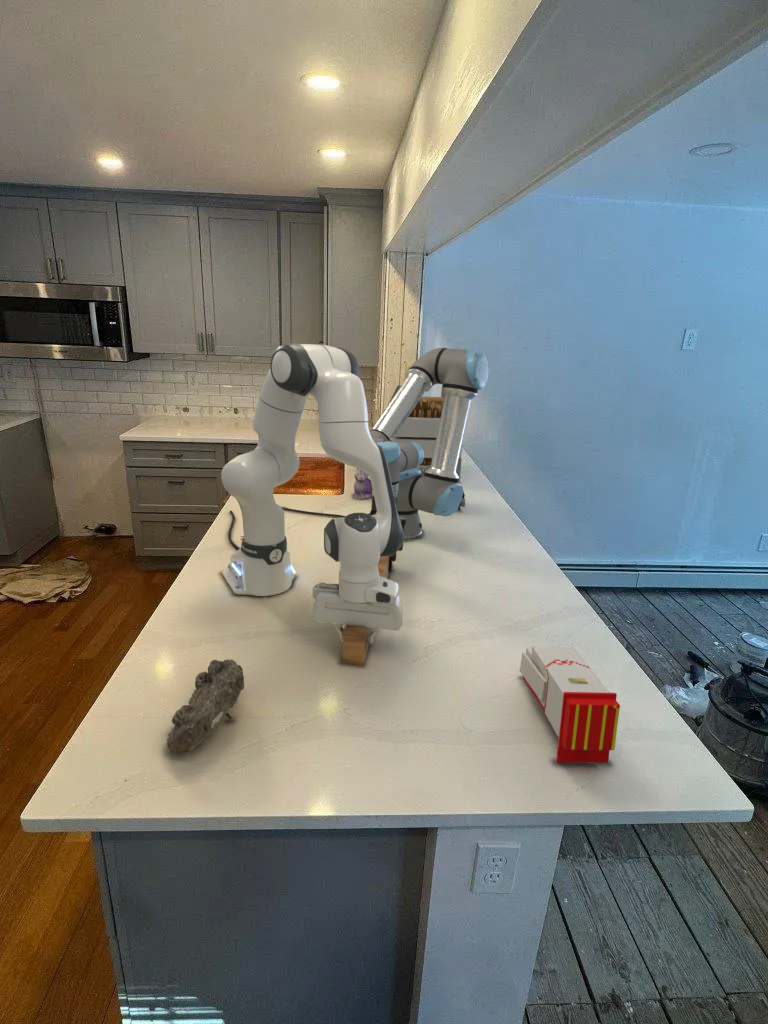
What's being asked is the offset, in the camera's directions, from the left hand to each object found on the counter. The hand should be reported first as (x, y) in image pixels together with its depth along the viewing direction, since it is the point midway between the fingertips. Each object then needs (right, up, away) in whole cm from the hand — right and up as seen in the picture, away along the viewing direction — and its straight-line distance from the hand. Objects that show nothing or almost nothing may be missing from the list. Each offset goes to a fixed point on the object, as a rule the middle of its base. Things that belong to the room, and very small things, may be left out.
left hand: (357, 640), depth 130 cm
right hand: (+5, +12, +41) cm, 43 cm away
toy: (+41, -11, -16) cm, 45 cm away
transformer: (+23, +48, +145) cm, 155 cm away
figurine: (-3, +36, +108) cm, 114 cm away
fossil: (-27, -10, -21) cm, 35 cm away
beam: (+3, +4, +21) cm, 22 cm away
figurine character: (+35, +31, +101) cm, 111 cm away
